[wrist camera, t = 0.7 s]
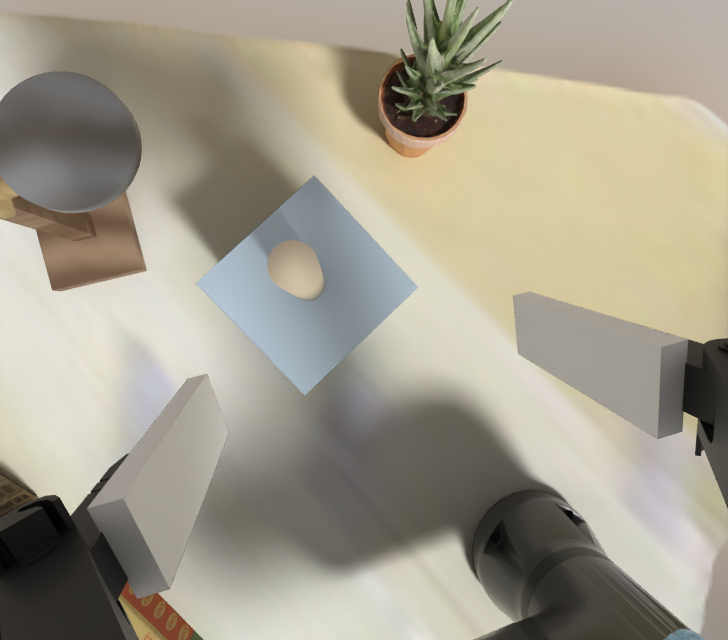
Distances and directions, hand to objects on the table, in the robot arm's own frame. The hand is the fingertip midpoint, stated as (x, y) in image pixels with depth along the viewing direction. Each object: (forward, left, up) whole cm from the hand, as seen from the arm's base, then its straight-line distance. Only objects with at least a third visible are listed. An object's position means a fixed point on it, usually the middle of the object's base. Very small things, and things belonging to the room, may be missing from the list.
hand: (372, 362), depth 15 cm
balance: (+20, +27, -29) cm, 44 cm away
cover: (+6, +3, -29) cm, 29 cm away
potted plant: (+23, -13, -29) cm, 39 cm away
